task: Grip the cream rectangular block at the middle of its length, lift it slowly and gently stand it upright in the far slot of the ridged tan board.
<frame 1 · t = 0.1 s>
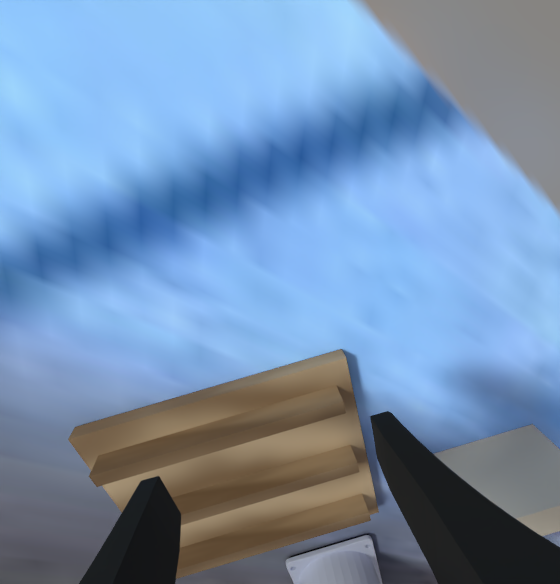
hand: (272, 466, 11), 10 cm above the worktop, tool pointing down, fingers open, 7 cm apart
cream rectangular block: (461, 456, 28), on the worktop
ridged tan board: (244, 468, 25), on the worktop
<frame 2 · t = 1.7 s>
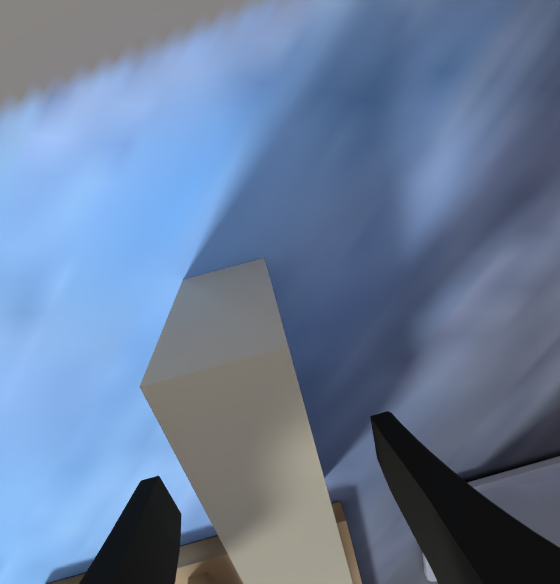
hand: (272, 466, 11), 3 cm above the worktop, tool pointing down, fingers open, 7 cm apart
cream rectangular block: (265, 393, 14), on the worktop
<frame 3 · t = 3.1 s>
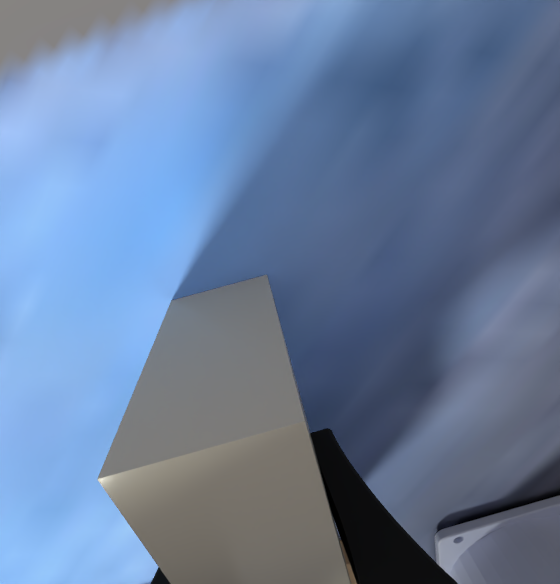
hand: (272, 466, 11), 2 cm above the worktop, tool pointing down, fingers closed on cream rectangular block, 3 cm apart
cream rectangular block: (268, 428, 13), on the worktop, touching gripper
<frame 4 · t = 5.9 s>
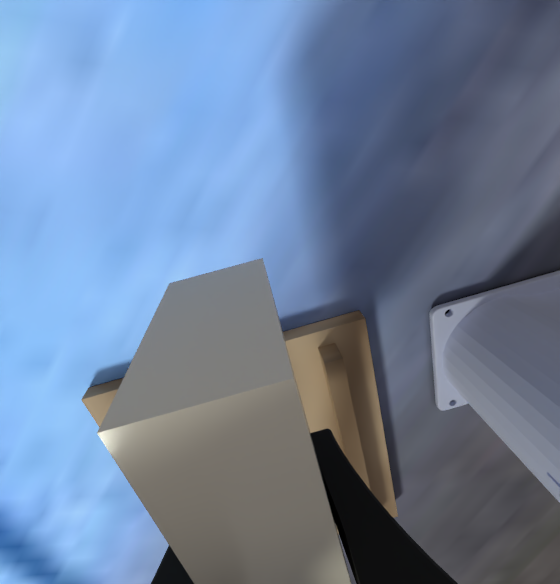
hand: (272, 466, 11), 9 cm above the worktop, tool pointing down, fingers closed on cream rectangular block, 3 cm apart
cream rectangular block: (264, 412, 13), point 6 cm above the worktop, touching gripper
ridged tan board: (265, 455, 23), on the worktop
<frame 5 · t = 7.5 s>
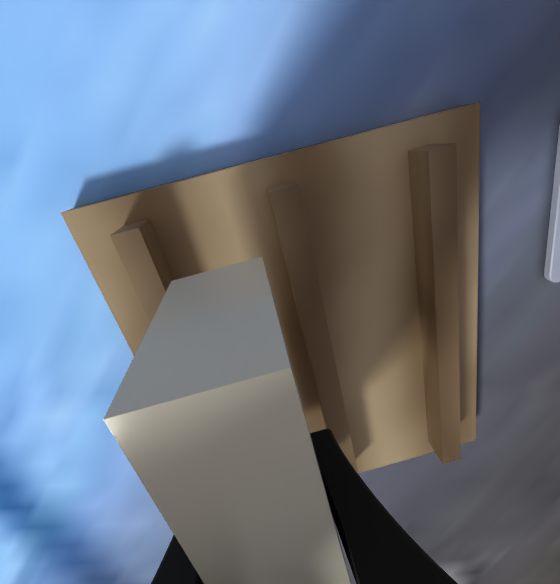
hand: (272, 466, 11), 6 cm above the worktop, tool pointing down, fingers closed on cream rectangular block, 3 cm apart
cream rectangular block: (264, 408, 13), point 4 cm above the worktop, touching gripper
ridged tan board: (313, 342, 17), on the worktop
when the fingers open (4 cm above the worktop, at t = 8.8 s): cream rectangular block stays where it is, resting on ridged tan board.
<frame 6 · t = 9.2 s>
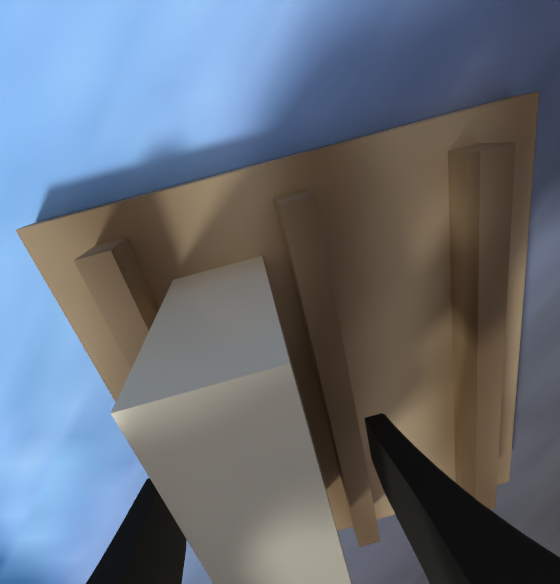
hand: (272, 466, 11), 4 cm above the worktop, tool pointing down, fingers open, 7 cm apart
cream rectangular block: (264, 404, 13), point 1 cm above the worktop, touching ridged tan board
ridged tan board: (326, 376, 14), on the worktop
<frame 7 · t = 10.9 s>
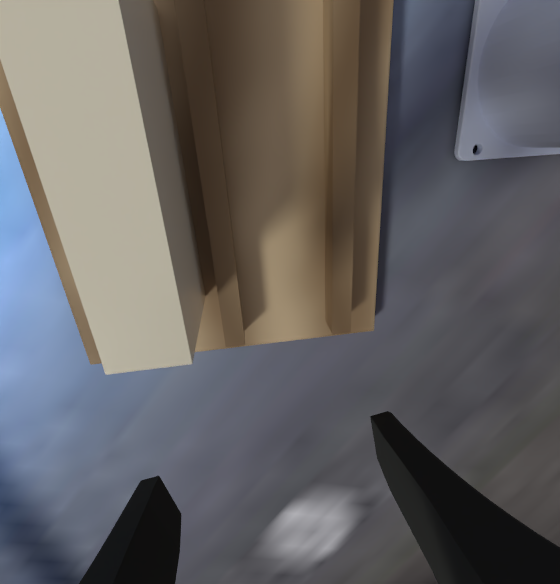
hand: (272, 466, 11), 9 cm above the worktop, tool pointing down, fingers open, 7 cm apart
cream rectangular block: (151, 178, 15), point 1 cm above the worktop, touching ridged tan board
ridged tan board: (216, 178, 16), on the worktop
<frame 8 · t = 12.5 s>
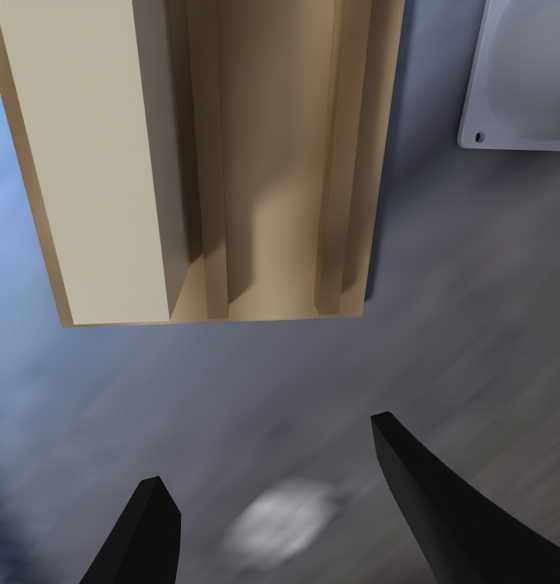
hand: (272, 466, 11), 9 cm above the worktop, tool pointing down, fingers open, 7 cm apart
cream rectangular block: (143, 130, 14), point 1 cm above the worktop, touching ridged tan board
ridged tan board: (212, 140, 15), on the worktop
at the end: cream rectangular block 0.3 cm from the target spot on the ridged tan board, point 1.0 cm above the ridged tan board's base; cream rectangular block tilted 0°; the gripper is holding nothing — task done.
